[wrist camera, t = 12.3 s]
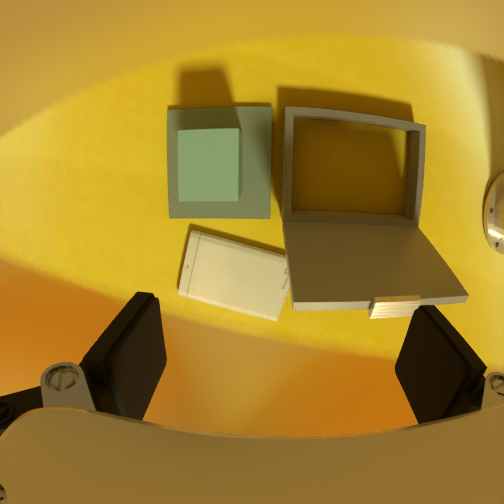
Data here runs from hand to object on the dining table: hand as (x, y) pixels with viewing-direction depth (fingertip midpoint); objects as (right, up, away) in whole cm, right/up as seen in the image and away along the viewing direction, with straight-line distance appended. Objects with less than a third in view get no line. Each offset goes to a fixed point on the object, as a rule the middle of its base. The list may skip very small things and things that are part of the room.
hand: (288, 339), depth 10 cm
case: (+10, +12, +20) cm, 25 cm away
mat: (-5, +12, +20) cm, 24 cm away
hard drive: (-3, 0, +25) cm, 25 cm away
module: (-5, +12, +20) cm, 24 cm away
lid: (+9, +3, +14) cm, 17 cm away
